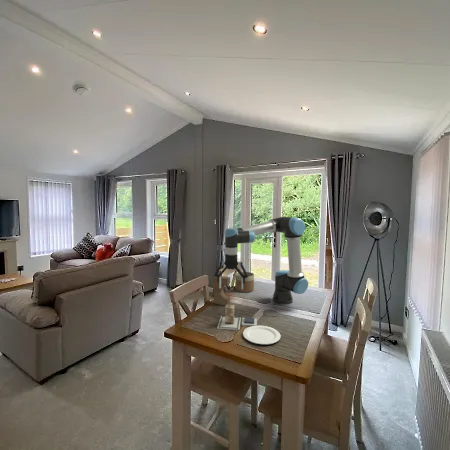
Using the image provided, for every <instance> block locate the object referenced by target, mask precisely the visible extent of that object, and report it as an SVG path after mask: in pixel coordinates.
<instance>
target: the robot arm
mask: <svg viewBox="0 0 450 450" xmlns="http://www.w3.org/2000/svg"><path fill="white" fill-rule="evenodd" d="M305 229H306V225H305V222H304V220H302V219H301V218H299V217H295V216H279V217H275V218H272V219H269V220H268V221H264V222H261V223H260V222H259V223H256V224H251V225H246V226H243V227H237V228H234V227H229V228H226V229H225V230H224V253H225V255H224V261H222V260H221V261H220V262H219V265H218V268H217V269H216V272H215V273H214V277H217V278H218V283H219V288H221V277H220V276H223V274H224V273H225V272H226V270H236V273H237V272H238V273H239V274H240V275H241V276H242V289H243V284H245V278H247V277H248V274H247V272H248V271H246V268H245V267H244V265H243V263H244V262H243V261H239V260H238V247H239V244H240V245H241V244H250V243H254V242H255V239H256V236H259V235H264V234H267V233H270V234H271V233H272V234H273V233H282V234H283V235H284V238H285V239H286V241H287V242H286V243H287V244H286V245H287V256H288V257H287V259H288V269H284V270H283V269H282V270H277V271H276V272H275V275H274V292H273V294H272V301H273V302H274V303H276V304H281V305H289V304H292V303H293V300H294V299H293V294H292V293H294V294H297V295H303V294H304V293H305V292H306V291H307V290H308V288H309V280H308V279H307V278H305V274H304V272H303V269H302V257H301V256H302V254H301V238H302V237H303V234H304V233H305ZM223 265H224V266H225V267H223V269H222V270H221V268H222V266H223ZM238 266H240V268H241V270H240V268H239V267H238ZM220 270H221V271H220ZM219 271H220V272H219ZM242 272H244V274H245V276H244V274H243V273H242Z"/></svg>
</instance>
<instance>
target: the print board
mask: <svg viewBox="0 0 450 450" xmlns="http://www.w3.org/2000/svg"><path fill="white" fill-rule="evenodd" d="M241 323H242V317H240V316H234V324H225V315H221V316H220V319H219V321H218V324H217V327H216V328H217V329H218V330H230V331H240V328H241Z"/></svg>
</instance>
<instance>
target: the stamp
mask: <svg viewBox="0 0 450 450" xmlns="http://www.w3.org/2000/svg"><path fill="white" fill-rule="evenodd" d="M224 309H225V310H224V311H225V313H224V314H225V315H224V316H225V324H234V317H235V304H229V305H226V306H225V308H224Z"/></svg>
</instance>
